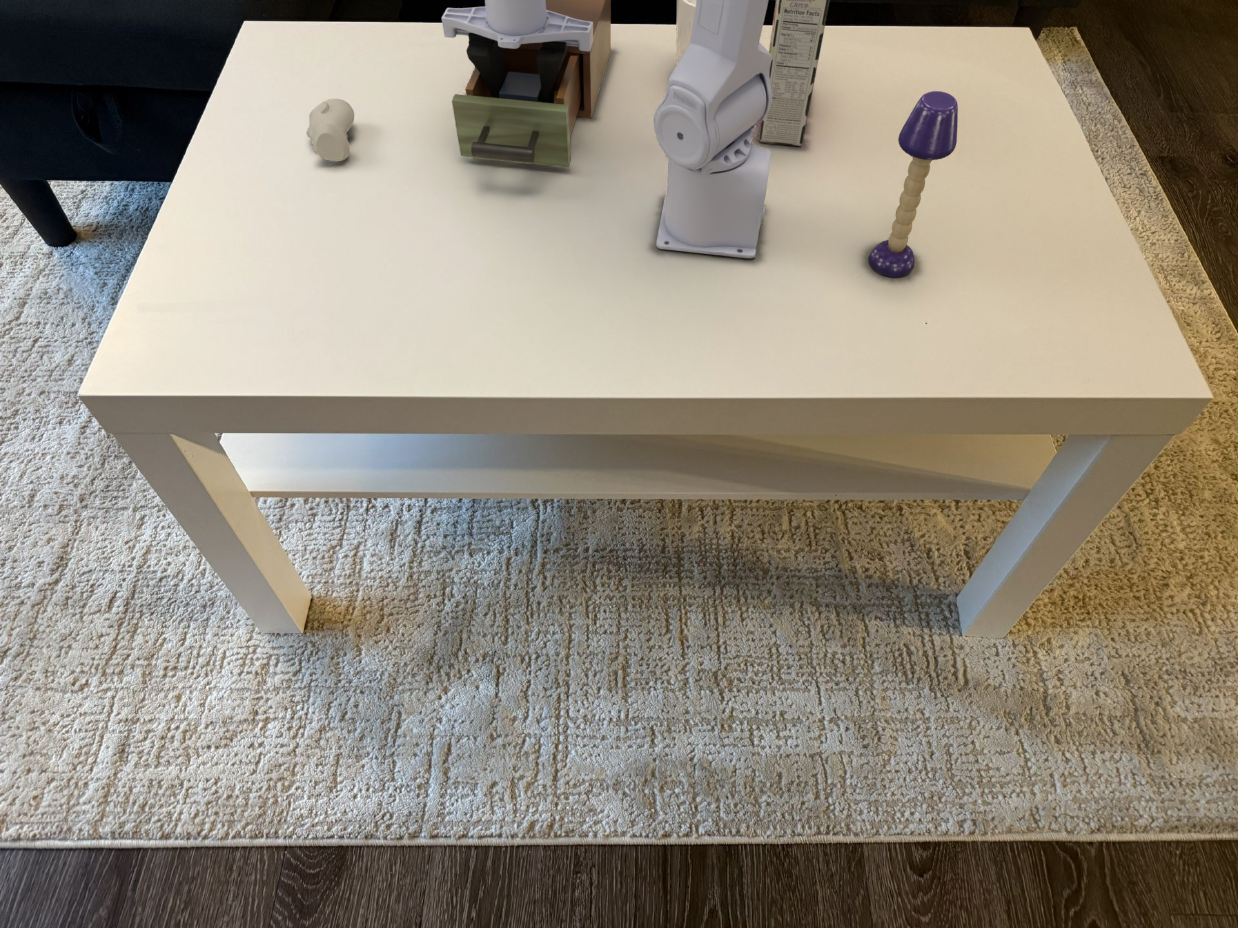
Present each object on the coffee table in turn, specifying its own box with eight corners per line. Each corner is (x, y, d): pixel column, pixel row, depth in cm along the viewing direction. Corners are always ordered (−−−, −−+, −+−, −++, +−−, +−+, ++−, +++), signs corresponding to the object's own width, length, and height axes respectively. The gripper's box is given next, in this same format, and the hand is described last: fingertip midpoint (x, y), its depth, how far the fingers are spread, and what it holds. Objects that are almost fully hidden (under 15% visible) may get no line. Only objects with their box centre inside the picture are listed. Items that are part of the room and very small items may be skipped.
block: (548, 110, 93) (546, 75, 89) (540, 132, 90) (537, 97, 87) (512, 106, 93) (508, 71, 90) (502, 128, 91) (498, 93, 87)
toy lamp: (868, 279, 81) (920, 118, 67) (857, 245, 83) (904, 84, 70) (918, 277, 81) (980, 115, 67) (905, 243, 84) (962, 82, 70)
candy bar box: (762, 86, 99) (785, -68, 86) (806, 90, 99) (836, -64, 85) (755, 144, 93) (779, -13, 79) (802, 149, 92) (834, -8, 79)
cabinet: (591, 118, 95) (590, 47, 89) (479, 107, 96) (470, 36, 90) (610, 52, 103) (610, -18, 96) (507, 43, 104) (500, -27, 97)
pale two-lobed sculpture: (324, 132, 95) (365, 119, 94) (311, 176, 90) (355, 163, 89) (301, 98, 92) (344, 83, 91) (287, 141, 87) (332, 127, 86)
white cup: (671, 59, 102) (677, -29, 94) (738, 61, 102) (749, -27, 94) (671, 97, 98) (676, 8, 89) (741, 99, 98) (753, 10, 89)
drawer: (560, 193, 86) (557, 137, 81) (449, 181, 87) (439, 125, 82) (589, 98, 96) (588, 43, 91) (489, 89, 97) (482, 33, 92)
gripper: (423, -14, 78) (447, 122, 89) (581, 1, 77) (585, 137, 88) (445, -50, 82) (465, 84, 93) (596, -37, 81) (598, 98, 92)
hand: (524, 107), depth 91 cm, fingers open, 4 cm apart
